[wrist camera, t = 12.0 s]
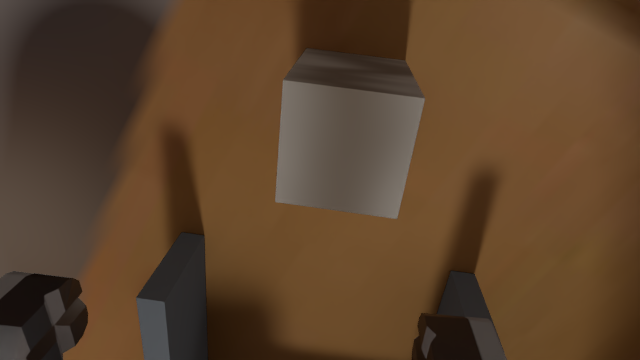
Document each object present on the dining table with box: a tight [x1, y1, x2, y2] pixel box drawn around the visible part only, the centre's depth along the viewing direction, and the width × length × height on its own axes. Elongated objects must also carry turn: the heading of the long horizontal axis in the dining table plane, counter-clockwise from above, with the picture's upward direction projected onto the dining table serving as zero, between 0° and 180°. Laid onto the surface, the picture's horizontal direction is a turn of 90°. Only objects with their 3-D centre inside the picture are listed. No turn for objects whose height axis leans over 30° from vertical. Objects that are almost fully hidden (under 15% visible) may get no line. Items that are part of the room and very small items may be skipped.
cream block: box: [275, 48, 425, 219], centre depth 18 cm, size 5×5×7 cm
